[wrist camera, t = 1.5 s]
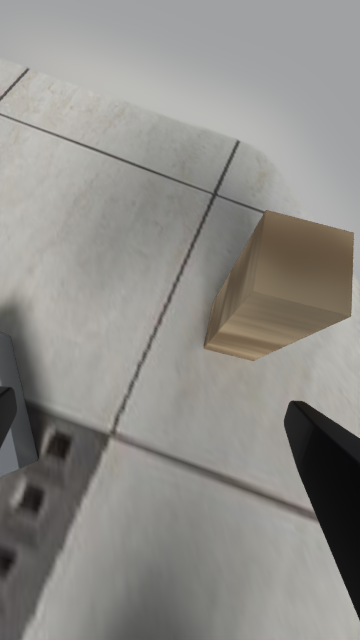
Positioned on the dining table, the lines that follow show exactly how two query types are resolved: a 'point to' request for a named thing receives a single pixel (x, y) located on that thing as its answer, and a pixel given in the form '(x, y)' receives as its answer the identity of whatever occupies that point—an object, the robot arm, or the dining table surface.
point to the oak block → (282, 287)
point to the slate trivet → (19, 438)
